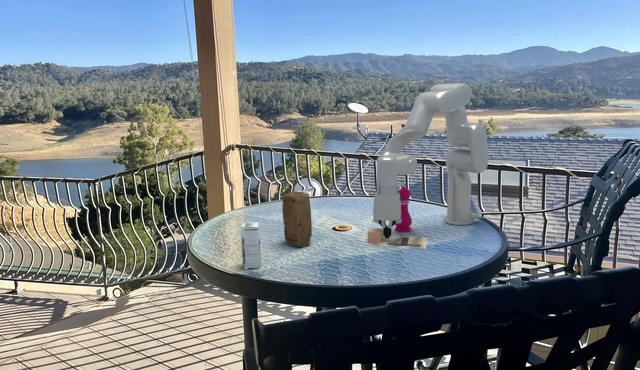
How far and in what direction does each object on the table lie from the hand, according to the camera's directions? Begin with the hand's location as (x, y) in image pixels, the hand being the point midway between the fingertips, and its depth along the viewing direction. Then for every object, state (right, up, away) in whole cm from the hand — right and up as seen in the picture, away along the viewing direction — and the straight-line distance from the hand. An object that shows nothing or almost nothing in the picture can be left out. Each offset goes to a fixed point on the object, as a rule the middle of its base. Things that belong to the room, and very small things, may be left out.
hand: (387, 237), depth 177 cm
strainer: (-33, +3, +32) cm, 47 cm away
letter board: (+4, -2, -1) cm, 5 cm away
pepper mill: (+8, 0, +13) cm, 16 cm away
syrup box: (-48, -8, -18) cm, 52 cm away
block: (-34, -3, +3) cm, 34 cm away
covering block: (-4, -1, +1) cm, 5 cm away
